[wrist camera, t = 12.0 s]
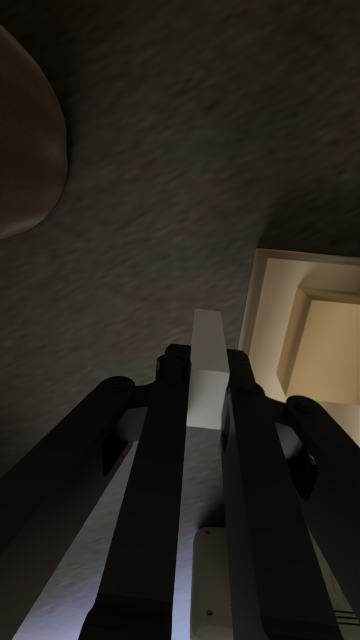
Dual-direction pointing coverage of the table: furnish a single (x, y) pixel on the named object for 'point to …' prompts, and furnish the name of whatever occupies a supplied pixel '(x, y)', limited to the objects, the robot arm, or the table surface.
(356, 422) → the platform
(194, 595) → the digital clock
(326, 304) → the ochre tile
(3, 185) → the plant pot
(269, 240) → the table surface
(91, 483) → the robot arm
